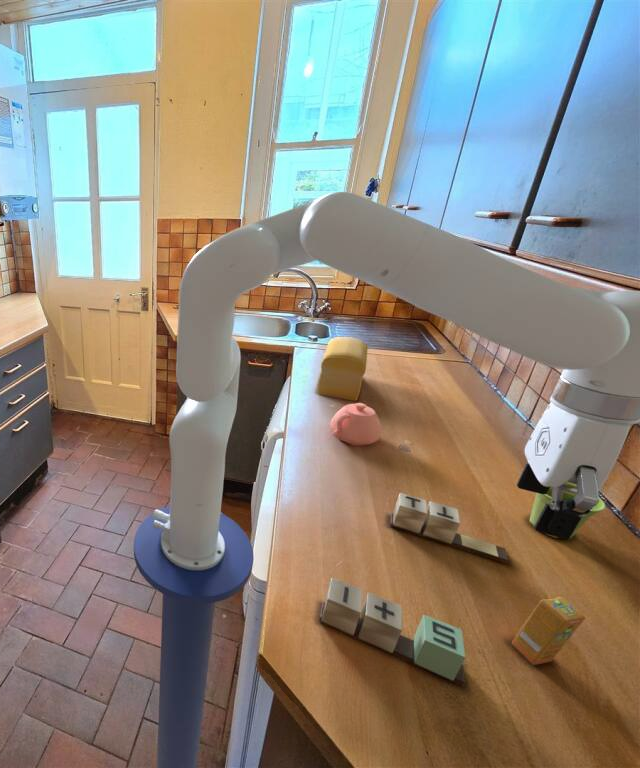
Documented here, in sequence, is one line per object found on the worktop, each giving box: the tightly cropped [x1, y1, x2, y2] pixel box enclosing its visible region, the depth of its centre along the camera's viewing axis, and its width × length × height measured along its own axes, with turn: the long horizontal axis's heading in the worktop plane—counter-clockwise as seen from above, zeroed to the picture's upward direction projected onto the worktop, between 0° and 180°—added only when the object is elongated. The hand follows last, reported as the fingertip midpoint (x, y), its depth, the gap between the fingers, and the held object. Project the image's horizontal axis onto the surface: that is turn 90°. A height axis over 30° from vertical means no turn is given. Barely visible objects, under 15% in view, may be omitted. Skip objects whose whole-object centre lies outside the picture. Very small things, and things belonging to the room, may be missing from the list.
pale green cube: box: [413, 614, 466, 680], centre depth 56 cm, size 4×4×5 cm
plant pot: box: [529, 482, 606, 540], centre depth 78 cm, size 9×9×9 cm
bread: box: [316, 336, 369, 402], centre depth 140 cm, size 24×13×15 cm, turn 150°
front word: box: [318, 577, 466, 687], centre depth 59 cm, size 18×4×6 cm, turn 58°
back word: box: [389, 492, 509, 565], centre depth 77 cm, size 18×4×6 cm, turn 58°
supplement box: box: [511, 596, 586, 666], centre depth 56 cm, size 3×3×10 cm
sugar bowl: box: [329, 402, 382, 447], centre depth 109 cm, size 12×14×10 cm
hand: (540, 510), depth 55 cm, fingers open, 9 cm apart
